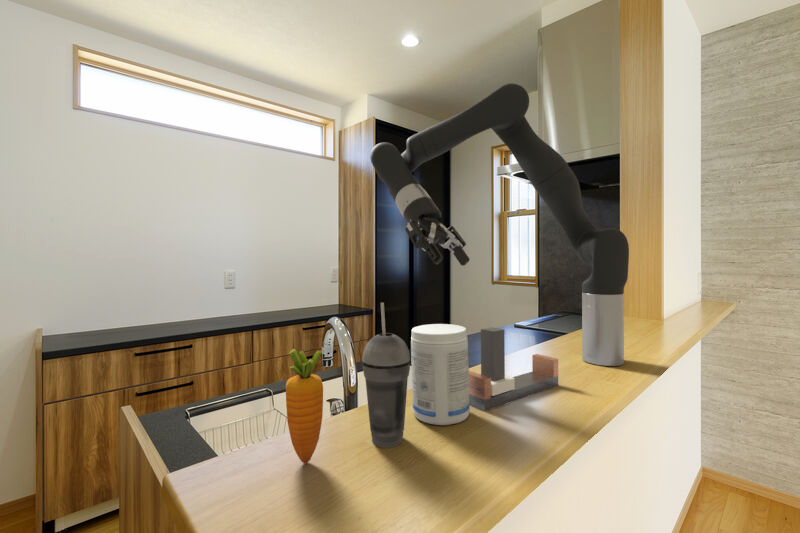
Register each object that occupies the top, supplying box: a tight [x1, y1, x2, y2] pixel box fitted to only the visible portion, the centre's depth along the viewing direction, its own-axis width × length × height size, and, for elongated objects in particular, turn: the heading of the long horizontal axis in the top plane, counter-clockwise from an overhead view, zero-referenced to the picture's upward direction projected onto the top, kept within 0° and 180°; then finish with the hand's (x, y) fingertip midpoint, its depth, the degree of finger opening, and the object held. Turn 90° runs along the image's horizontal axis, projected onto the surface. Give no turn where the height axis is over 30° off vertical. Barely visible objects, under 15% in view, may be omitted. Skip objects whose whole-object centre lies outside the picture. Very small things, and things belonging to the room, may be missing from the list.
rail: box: [469, 353, 559, 412], centre depth 72 cm, size 22×5×6 cm, turn 125°
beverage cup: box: [360, 302, 412, 449], centre depth 54 cm, size 7×7×20 cm
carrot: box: [285, 348, 324, 464], centre depth 48 cm, size 5×5×15 cm
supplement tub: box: [410, 323, 471, 426], centre depth 63 cm, size 10×10×15 cm
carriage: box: [480, 326, 515, 396], centre depth 69 cm, size 6×5×11 cm
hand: (453, 262), depth 76 cm, fingers open, 8 cm apart
